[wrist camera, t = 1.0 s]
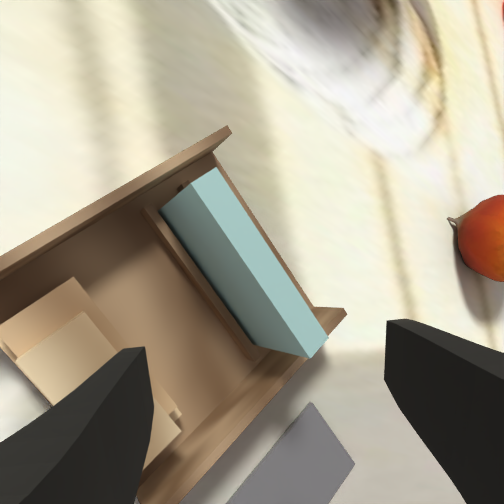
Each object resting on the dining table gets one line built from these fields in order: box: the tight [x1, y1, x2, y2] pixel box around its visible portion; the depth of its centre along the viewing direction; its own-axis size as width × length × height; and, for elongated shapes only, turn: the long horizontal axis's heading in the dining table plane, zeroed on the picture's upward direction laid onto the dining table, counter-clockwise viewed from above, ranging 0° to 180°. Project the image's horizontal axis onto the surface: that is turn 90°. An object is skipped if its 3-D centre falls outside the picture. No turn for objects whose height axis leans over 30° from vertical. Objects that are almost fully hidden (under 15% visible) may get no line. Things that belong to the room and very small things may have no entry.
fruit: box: [447, 195, 504, 282], centre depth 34 cm, size 8×8×8 cm
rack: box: [0, 126, 347, 504], centre depth 20 cm, size 15×14×4 cm
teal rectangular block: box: [158, 167, 329, 358], centre depth 20 cm, size 2×10×6 cm, turn 39°
